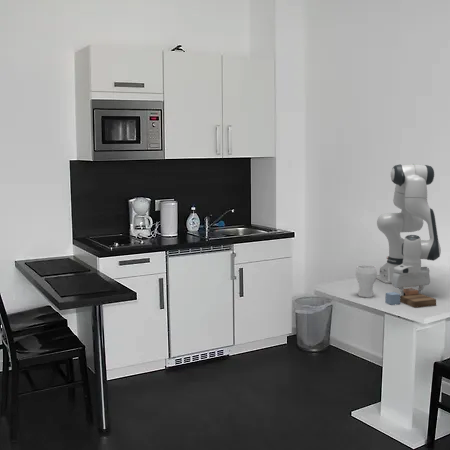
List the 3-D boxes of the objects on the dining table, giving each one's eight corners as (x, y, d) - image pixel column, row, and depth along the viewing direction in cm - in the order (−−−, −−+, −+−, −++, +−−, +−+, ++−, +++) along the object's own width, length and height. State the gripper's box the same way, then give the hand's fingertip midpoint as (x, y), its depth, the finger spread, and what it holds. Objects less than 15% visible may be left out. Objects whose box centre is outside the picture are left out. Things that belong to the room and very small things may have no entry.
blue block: (385, 302, 305) (385, 292, 304) (394, 301, 306) (394, 291, 306) (391, 305, 300) (391, 295, 299) (399, 304, 302) (400, 294, 301)
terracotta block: (403, 298, 313) (403, 288, 312) (411, 297, 314) (411, 287, 313) (408, 300, 308) (409, 290, 307) (417, 299, 309) (417, 290, 309)
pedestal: (400, 301, 306) (400, 295, 305) (420, 299, 309) (420, 293, 309) (414, 307, 294) (415, 301, 294) (436, 305, 298) (436, 299, 298)
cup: (373, 299, 312) (373, 269, 310) (352, 296, 317) (353, 267, 315) (378, 294, 321) (379, 265, 319) (358, 292, 326) (359, 264, 324)
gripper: (425, 265, 315) (424, 291, 317) (390, 268, 308) (390, 295, 310) (433, 267, 309) (432, 294, 311) (398, 270, 302) (397, 298, 304)
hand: (411, 294), depth 310 cm, fingers open, 8 cm apart
